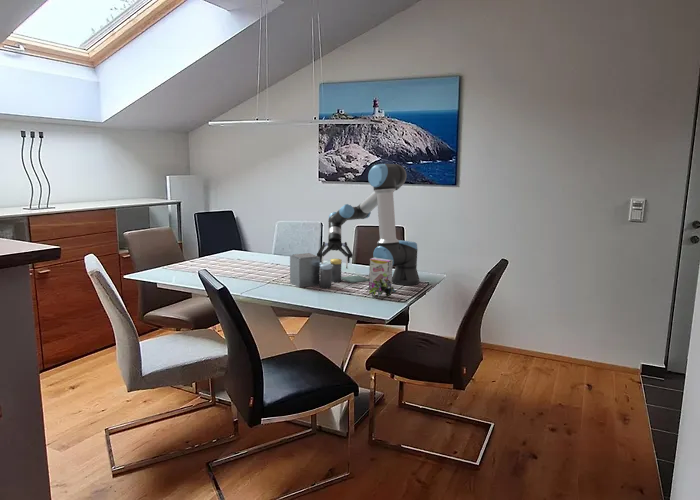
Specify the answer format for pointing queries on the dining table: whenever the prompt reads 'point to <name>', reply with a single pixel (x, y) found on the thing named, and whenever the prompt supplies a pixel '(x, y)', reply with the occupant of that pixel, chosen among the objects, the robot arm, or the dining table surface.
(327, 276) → the blue
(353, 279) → the mat
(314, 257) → the box
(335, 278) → the cylinder
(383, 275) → the candy bar box
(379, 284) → the passion flower
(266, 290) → the dining table surface
